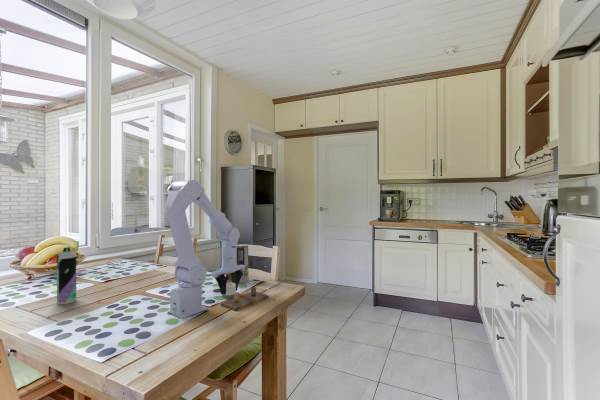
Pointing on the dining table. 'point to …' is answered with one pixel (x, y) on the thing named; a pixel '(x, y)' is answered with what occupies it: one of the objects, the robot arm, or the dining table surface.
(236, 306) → the pin board
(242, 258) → the coffee box
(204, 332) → the dining table surface
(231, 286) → the sleeve
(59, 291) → the black purple carton
